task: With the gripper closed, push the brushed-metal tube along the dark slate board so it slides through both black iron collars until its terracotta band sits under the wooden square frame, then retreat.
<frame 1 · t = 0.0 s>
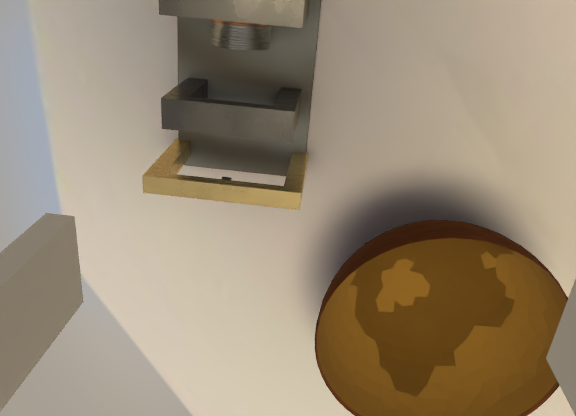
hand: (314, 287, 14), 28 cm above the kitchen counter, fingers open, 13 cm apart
bowl: (421, 271, 46), on the kitchen counter
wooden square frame: (241, 153, 41), resting on board
collar b: (243, 96, 39), resting on board
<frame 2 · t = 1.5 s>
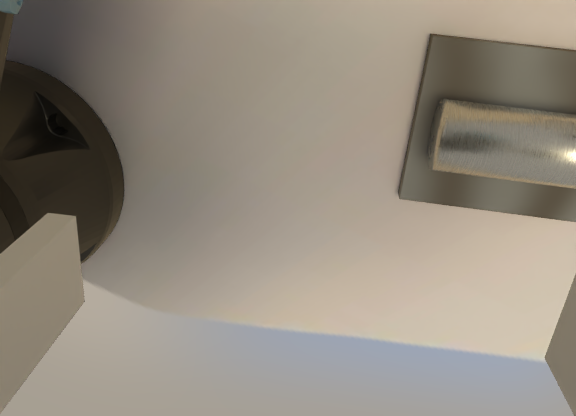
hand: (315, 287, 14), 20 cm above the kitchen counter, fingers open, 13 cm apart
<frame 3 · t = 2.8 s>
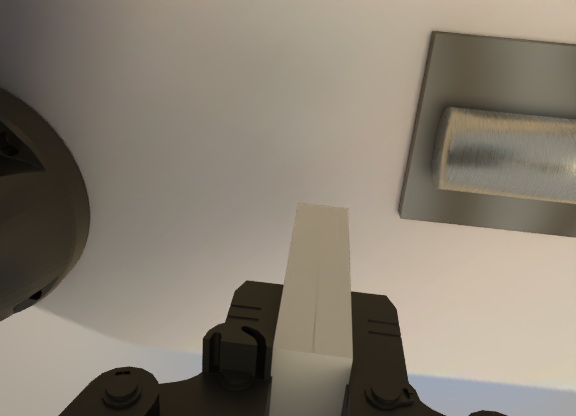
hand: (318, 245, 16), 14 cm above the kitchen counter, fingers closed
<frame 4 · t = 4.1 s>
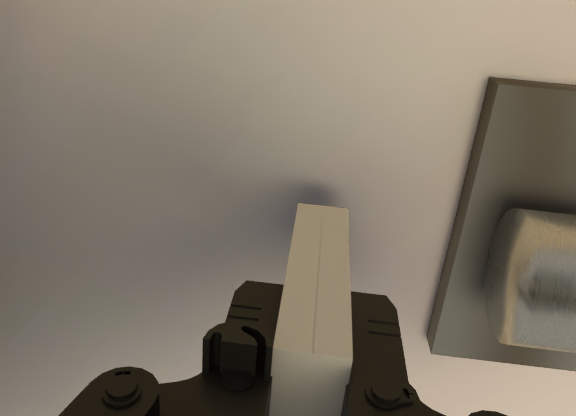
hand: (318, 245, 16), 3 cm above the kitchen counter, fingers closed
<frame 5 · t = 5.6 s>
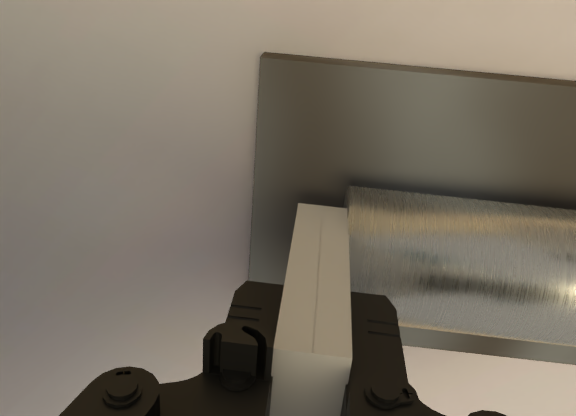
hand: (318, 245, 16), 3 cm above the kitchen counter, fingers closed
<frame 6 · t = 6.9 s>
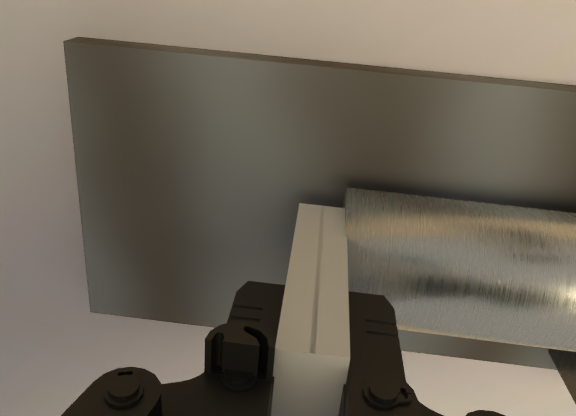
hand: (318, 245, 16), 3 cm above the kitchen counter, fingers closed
board: (529, 230, 18), on the kitchen counter
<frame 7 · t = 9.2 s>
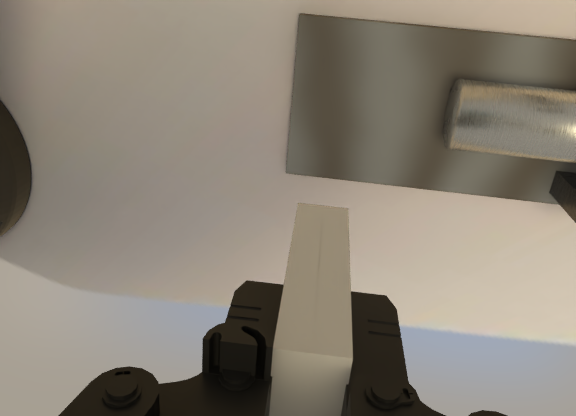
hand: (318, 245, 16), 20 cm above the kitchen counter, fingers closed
board: (538, 121, 33), on the kitchen counter
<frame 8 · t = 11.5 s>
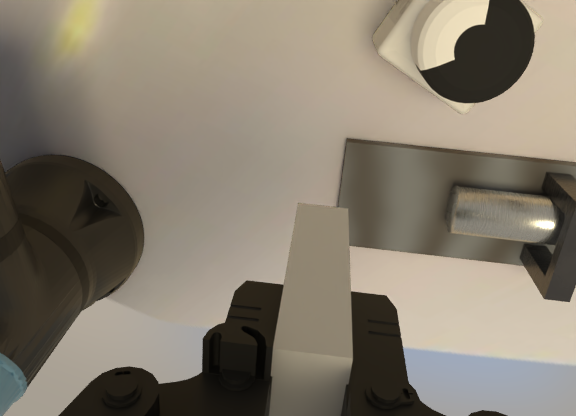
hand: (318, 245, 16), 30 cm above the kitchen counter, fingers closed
container: (439, 24, 42), on the kitchen counter
collar a: (543, 217, 46), resting on board
tube: (562, 218, 46), point 1 cm above the kitchen counter, tilted 16°, touching board
board: (511, 209, 47), on the kitchen counter
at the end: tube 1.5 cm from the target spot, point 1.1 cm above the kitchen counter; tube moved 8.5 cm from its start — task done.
